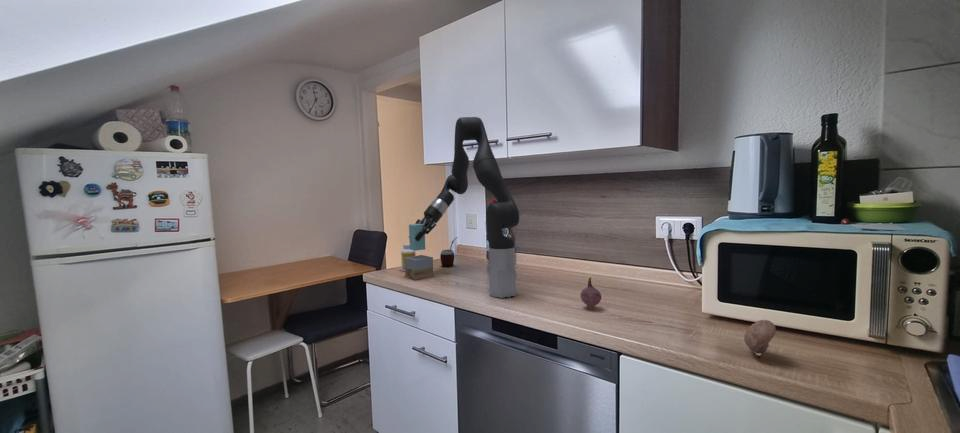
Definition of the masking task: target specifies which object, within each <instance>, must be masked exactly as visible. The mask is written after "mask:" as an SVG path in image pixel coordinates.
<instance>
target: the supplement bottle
mask: <svg viewBox="0 0 960 433" xmlns="http://www.w3.org/2000/svg"><path fill="white" fill-rule="evenodd" d="M402 248H403V249H401V251H400V256H401V271H402V272H404V273H405V265H404V258H406V257H412V256H416V251H414V250H410V242H409V243H408V242H407V243H403V244H402Z"/></svg>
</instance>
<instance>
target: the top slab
mask: <svg viewBox="0 0 960 433" xmlns="http://www.w3.org/2000/svg"><path fill="white" fill-rule="evenodd" d="M404 265H405V268H407V269H411V270H415V271H418V270H423V269H428V268H433V269H434V257H433V256H428V255H424V254H423V255H422V254H420V255H419V254H418V255H415V256H412V257H406V258H404Z"/></svg>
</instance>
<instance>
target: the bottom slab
mask: <svg viewBox="0 0 960 433" xmlns="http://www.w3.org/2000/svg"><path fill="white" fill-rule="evenodd" d="M404 275H405V276H404V277H405V278H407V279H408V280H409V279H410V280H412V281H414V282H416V281H421V280H426V279H431V278H434V267H433V268H428V269H423V270H418V271H415V270H411V269H407V268H405V272H404Z"/></svg>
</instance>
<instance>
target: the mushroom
mask: <svg viewBox="0 0 960 433" xmlns="http://www.w3.org/2000/svg"><path fill="white" fill-rule="evenodd" d="M776 332H777V329H776V325H775V323H773V322H772V321H770V320H768V319H759V320H757V321H756V322H754V323H752V324H751V325H750V326H749V327H748V328H747V329H746V331H745V334H744V340H743V341H744V343H745V344H746V346H747V347H748V348H749V350H750V351H752V352H753V353H754V352H756V353H763V354H764V353H765V352H767V351H768V349H769V345H770V344H769V343H770V342H771V341H772V339H774V337H775V334H776Z"/></svg>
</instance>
